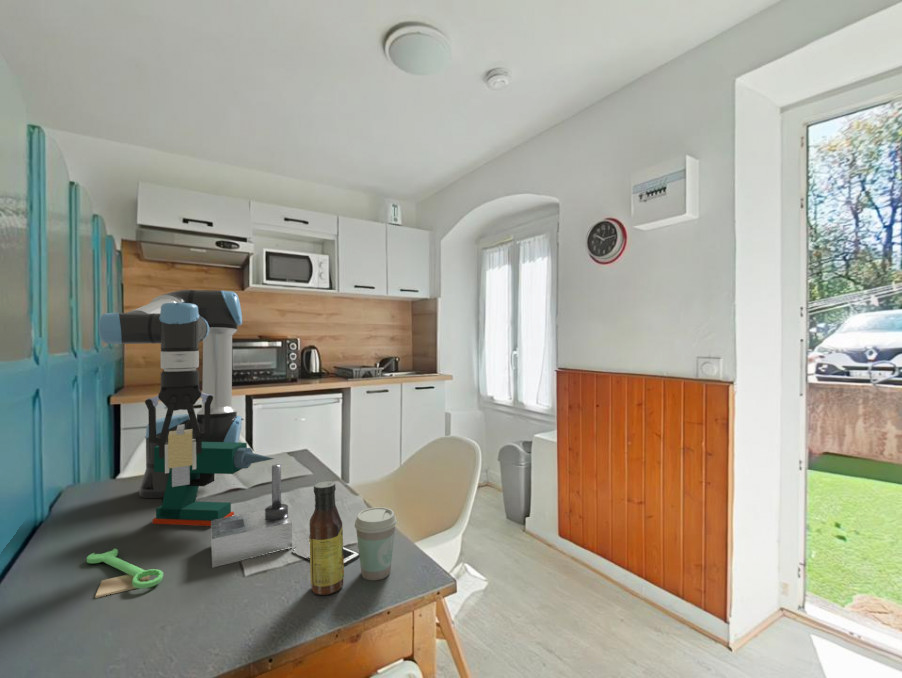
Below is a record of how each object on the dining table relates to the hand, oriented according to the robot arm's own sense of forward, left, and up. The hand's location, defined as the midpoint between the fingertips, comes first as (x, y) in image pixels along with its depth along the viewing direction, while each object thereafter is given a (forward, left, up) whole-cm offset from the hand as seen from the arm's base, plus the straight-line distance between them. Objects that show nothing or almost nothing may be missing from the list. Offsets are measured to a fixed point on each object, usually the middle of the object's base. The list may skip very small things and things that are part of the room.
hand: (181, 469), depth 100 cm
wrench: (+7, -10, -18) cm, 21 cm away
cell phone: (+21, +28, -18) cm, 40 cm away
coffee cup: (+34, +35, -18) cm, 52 cm away
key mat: (+13, -9, -18) cm, 24 cm away
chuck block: (+9, +14, -18) cm, 24 cm away
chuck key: (0, 0, -3) cm, 3 cm away
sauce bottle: (+34, +25, -18) cm, 46 cm away
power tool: (-12, +8, -18) cm, 23 cm away
